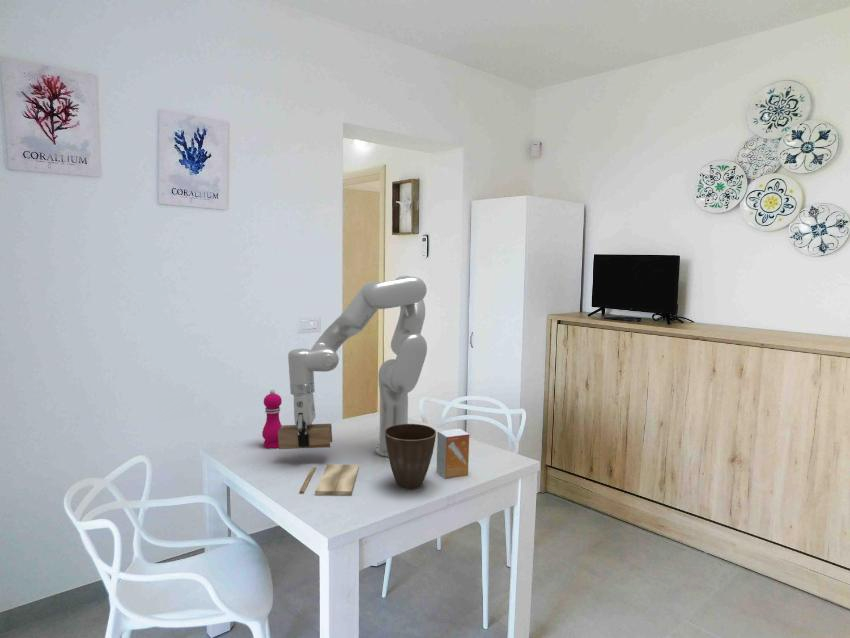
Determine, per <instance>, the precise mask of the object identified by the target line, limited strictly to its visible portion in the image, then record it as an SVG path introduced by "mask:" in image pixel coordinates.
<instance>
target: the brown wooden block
mask: <svg viewBox="0 0 850 638" xmlns="http://www.w3.org/2000/svg"><path fill="white" fill-rule="evenodd" d="M281 425H282V424H281ZM332 427H333V426H332V423H312V424H311V425H307V434H308V436H309V446H308V447H299V444H298V426H296V425H295V424H292V425H291V424H290V425H289V424H288V425H284V424H283V425H282V426H281V428H280V429H279V430H278V440H279V448H278V450H296V449H297V450H298V449H299V450H300V449H301V450H302V449H319V448H320V449H323V448H330V447H331V443H333V429H332ZM303 428H304V429H305V427H303Z"/></svg>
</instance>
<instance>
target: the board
mask: <svg viewBox="0 0 850 638" xmlns="http://www.w3.org/2000/svg"><path fill="white" fill-rule="evenodd" d="M316 469H317V468H316V467H315V466H314V467H313V466H312V467H311V468H310V469H309V472H308V473H307V476H306V477H305V479H304V481H303V484H302V485H301V487H300V489H299V493H298V494H305V492H306V489H307V487H308V486H309V483H310V481H311V479H312V477H313V476H314V473H315V472H316ZM359 470H360V464H335V463H334V464H330V463H329V464H326V466H325V468H324V471H323V473H322V475H321V476H320V477H321V478H320V480H319V482H318V484H317V486H316V489H315V491H314V492H315V494H314V495H315V496H347V497H348V496H352V495H353V491H354V488H355V484H356V481H357V477H358V473H359Z"/></svg>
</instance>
